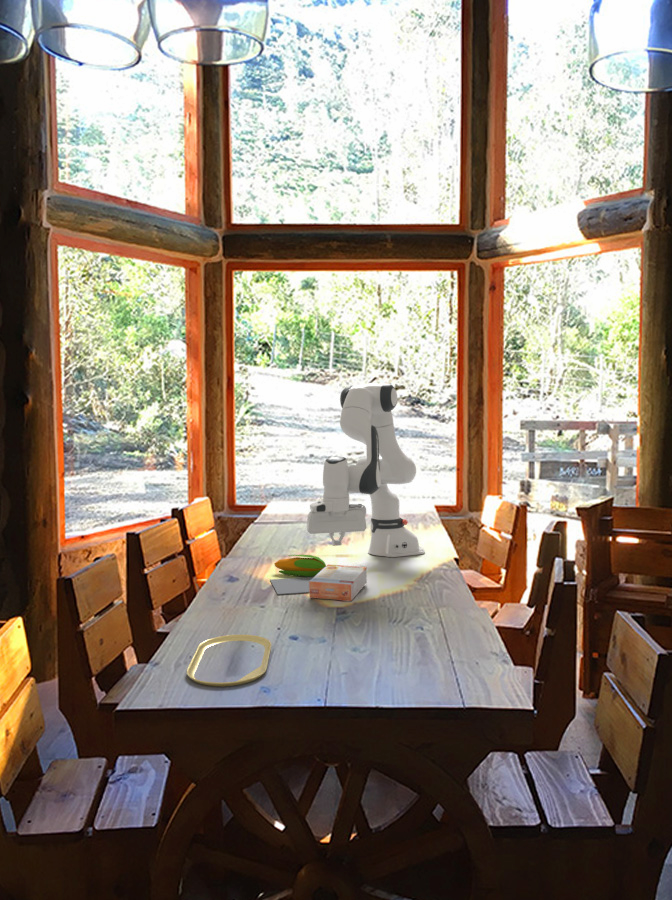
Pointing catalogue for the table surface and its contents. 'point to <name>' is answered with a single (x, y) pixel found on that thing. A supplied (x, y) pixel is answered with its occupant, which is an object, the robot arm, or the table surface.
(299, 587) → the mat
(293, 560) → the corn
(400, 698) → the table surface
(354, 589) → the cracker box
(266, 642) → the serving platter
